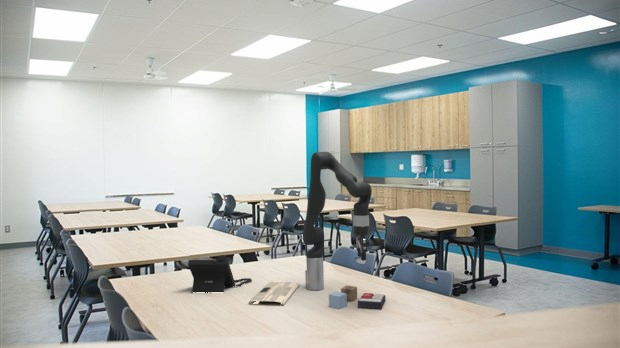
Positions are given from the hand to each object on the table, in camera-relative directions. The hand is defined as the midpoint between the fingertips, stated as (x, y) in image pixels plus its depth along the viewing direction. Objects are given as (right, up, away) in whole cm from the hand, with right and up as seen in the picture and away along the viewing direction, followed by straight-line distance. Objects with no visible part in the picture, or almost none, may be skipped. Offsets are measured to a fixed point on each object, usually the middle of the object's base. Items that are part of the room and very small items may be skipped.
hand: (361, 258), depth 214 cm
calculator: (+5, -23, +1) cm, 23 cm away
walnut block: (-5, -22, +10) cm, 25 cm away
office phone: (-74, -24, +40) cm, 88 cm away
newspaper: (-42, -24, +21) cm, 52 cm away
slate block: (-11, -23, -1) cm, 25 cm away
